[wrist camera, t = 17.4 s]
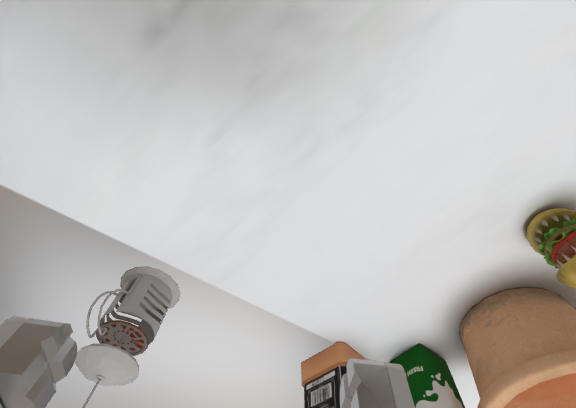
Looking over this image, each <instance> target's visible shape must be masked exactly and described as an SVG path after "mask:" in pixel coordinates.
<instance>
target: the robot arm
mask: <svg viewBox="0 0 576 408" xmlns="http://www.w3.org/2000/svg"><path fill="white" fill-rule="evenodd" d="M72 332H73V331H72V328H71V325H70V324H67V323H60V322H53V321H46V320H39V319H33V318H26V317H18V316H12V317H11V318H9V319H7V320H5V321H4V322H3V323H2V324H1V325H0V408H45V407H46V405H47V404H48V403H49V401H50V400H51V398H52V396H53V395H54V394H55V392H56V382H58V381H59V380H61V379H62V378H64V377H65V376H67V374H68V372H69V371H70V369H71V368H72V366H73V364H74V361H75V358H76V356H77V345H76V342H75V341H74V340H73V339H72V338H71V337H70V335H71V333H72ZM346 367H347V373H346V374H344V375H343V377H342V380H341V385H340V408H415V406H414V402H413V399H412V395H411V392H410V389H409V385H408V382H407V378H406V375H405V371H404V368H403V367H402V366H401V365H400V364H392V363H383V362H379V361H370V360H361V359H352V358H350V359H349V360H348V363H347V365H346Z"/></svg>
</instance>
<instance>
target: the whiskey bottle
mask: <svg viewBox="0 0 576 408" xmlns="http://www.w3.org/2000/svg"><path fill="white" fill-rule="evenodd" d="M350 358H352V359H361V360H365V359H364V358H363V357H362V356H360V355H359V354H358V353H357V352H355V351H354V350H353V349H352V348H350V347H349V346H348V345H347V344H345V343H338V342H337V343H335V344H334V345H332V346H330V347H329V348H327V349H325V350H323V351H321V352H319V353H318V354H316V355H314V356H312V357H310V358H309V359H307V360H305V361H303V362H302V363H301V376H302V386H303V387H304V393H305V394H304V400H305V408H340V385H341V380H342V377H343V375H344V374H346V373H347V367H346V365H347V363H348V360H349V359H350Z"/></svg>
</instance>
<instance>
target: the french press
mask: <svg viewBox="0 0 576 408" xmlns="http://www.w3.org/2000/svg"><path fill="white" fill-rule="evenodd" d="M121 288H122V289H117V290H115V291H110V292H109V291H107V292H105V293H103V294H101V295H100V296H99V297H98V298H97V299H96V300H95V301H94V302H93V304H92V305H91V307H90V309H89V312H88V316H87V325H86V328H87V333H88V336H89V337H90V338H92V337H94V335H95V334H96V337H97V339H98V340H99V342H100V344H91V345H89V346H86V347H84V348H81V349H80V350H79V351H78V352H77V356H76V358H75V363H76V365H77V367H78V368H79V370H80V371H81V373H82V374H83V375H84V376H85V377H86V378H87V379H89V380H91V381H94V382H96V385H95V387H94V388H93V390H92V392H91V394H90V396H89V397H88V399H87V401H86V402H85V404H84V406H83V408H85V406H86V404H87V403H88V401H89V399H90V397H91V396H92V394H93V392H94V390H95V388H96V387H97V385H98V384H100V385H103V386H117V385H119V386H120V385H125V384H128V383H131V382H133V381H134V380H135V379H136V378H137V377H138V374H139V366H138V364H137V362H136V359H135V358H134V357H133V356H135V355H138V354H141V353H143V352H144V351H145V350H146V349H147V347H148V345H149V344H150V343H151V342H152V341H153V340H154V338H155V336H156V334H157V332H158V330H159V327H160V325H161V323H162V321H163V318H164V317H165V315H166V312H167V311H168V309H169V308H172V307H174V305H175V304H176V303H177V302H178V301H179V297H180V291H179V288H178V284H177V283H176V282H175V281H174V280H173V279H172V278H171V276H169V275H168V274H166V273H164V272H162V271H161V270H158V269H155V268H151V267H135V268H132V269H130V270H128V271H126V272H125V274H124V275H123V276H122V278H121ZM117 291H120V292H119V293H118V294H117V293H115V292H117ZM106 293H110V294H109V295H108V296H107V297H106V299H105V300H104V302H103V304H102V305H101V307H100V312H99V316H98V329H97V330H96V331H95V332H94V333H93V334H92V335H90V331H89V317H90V313H91V310H92V307H93V306H94V304H95V303H96V302H97V300H98V299H99V298H100V297H101V296H103V295H105V294H106ZM112 294H114V295H117V296H116V298H115V300H114V301H113V302H112V304H111V305H110V307H109V308H108V310H107V311H106V313H105V314H104V315H103V317H102V318H101V320H100V316H101V311H102V307H103V305H104V304H105V302H106V301H107V299H108V298H109V296H111V295H112ZM118 301H119V302H120V303H121V305H120V306H119V305H118ZM114 307H115V308H116V309H117V312H122V313H125V314H129V315H132V316H135V317H138V318H140V319H142V321H141V322H139V321H137V320H134V319H131V318H128V317H124V316H120V315H117V314H116V313H115V312H114ZM109 313H111V314H112V315H113V317H114V318H116V319H120V320H124V321H128V322H131V323H134V324H136V325H138V327H137V326H135V325H133V324H131V323H128V322H124V321H119V320H116V321H113V320H112V319H111V318H110V317H109ZM106 314H107V321H108V322H106V323H104V317H105V315H106ZM163 315H164V317H163ZM160 322H161V323H160Z"/></svg>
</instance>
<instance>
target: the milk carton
mask: <svg viewBox="0 0 576 408" xmlns="http://www.w3.org/2000/svg"><path fill="white" fill-rule="evenodd" d="M390 363H392V364H400V365H401V366H402V367H403V368H404V371H405V375H406V378H407V382H408V385H409V389H410V392H411V395H412V399H413V402H414V406H415V408H465V406H464V404H463V402H462V399H461V397H460V394H459V392H458V389H457V387H456V385H455V382H454V380H453V377H452V375H451V373H450V370H449V368H448V366H447V364H446V361H445V360H443V359H442V358H440V357H439V356H437V355H436V354H434V353H433V352H431V351H430V350H428V349H427V348H425V347H424V346H422V345H421V344H418V345H416V346H415V347H413V348H412V349H410V350H408V351H407V352H405V353H404V354H402V355H400V356H399V357H397V358H396V359H394V360H392V361H391V362H390Z"/></svg>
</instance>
